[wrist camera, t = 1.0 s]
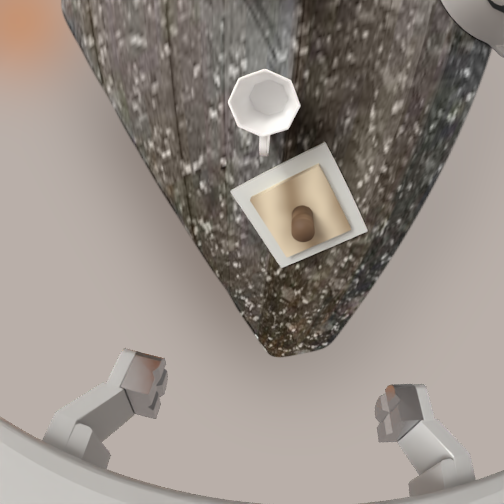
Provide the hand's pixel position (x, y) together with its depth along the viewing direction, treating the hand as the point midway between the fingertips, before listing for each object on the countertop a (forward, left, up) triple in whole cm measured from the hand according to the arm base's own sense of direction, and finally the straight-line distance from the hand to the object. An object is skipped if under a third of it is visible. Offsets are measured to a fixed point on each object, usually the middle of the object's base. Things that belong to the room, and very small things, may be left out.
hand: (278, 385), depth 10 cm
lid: (+3, +9, -32) cm, 33 cm away
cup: (0, -5, -33) cm, 33 cm away
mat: (+3, +9, -33) cm, 34 cm away
